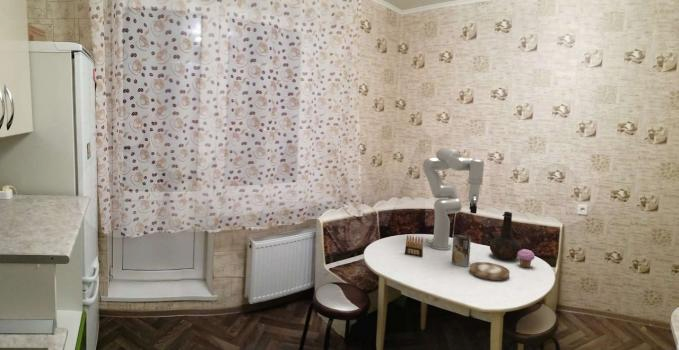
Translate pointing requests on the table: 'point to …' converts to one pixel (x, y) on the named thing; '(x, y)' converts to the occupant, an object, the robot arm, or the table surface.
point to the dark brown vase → (505, 241)
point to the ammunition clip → (414, 247)
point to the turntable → (489, 270)
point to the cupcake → (525, 257)
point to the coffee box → (461, 250)
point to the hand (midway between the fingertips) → (472, 211)
